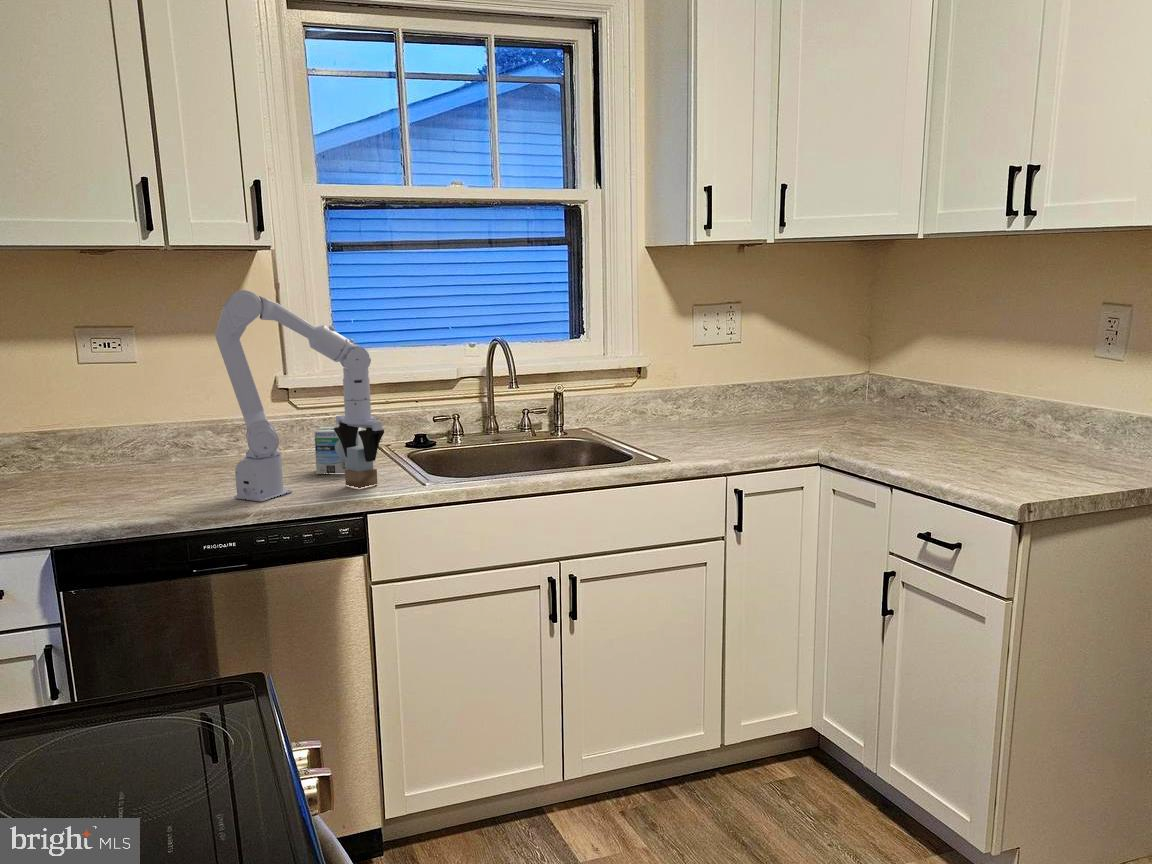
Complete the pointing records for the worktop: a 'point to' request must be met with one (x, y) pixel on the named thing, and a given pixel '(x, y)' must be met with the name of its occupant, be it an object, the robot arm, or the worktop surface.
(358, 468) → the slate block
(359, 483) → the walnut block
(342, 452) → the light bulb box
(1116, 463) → the worktop surface
